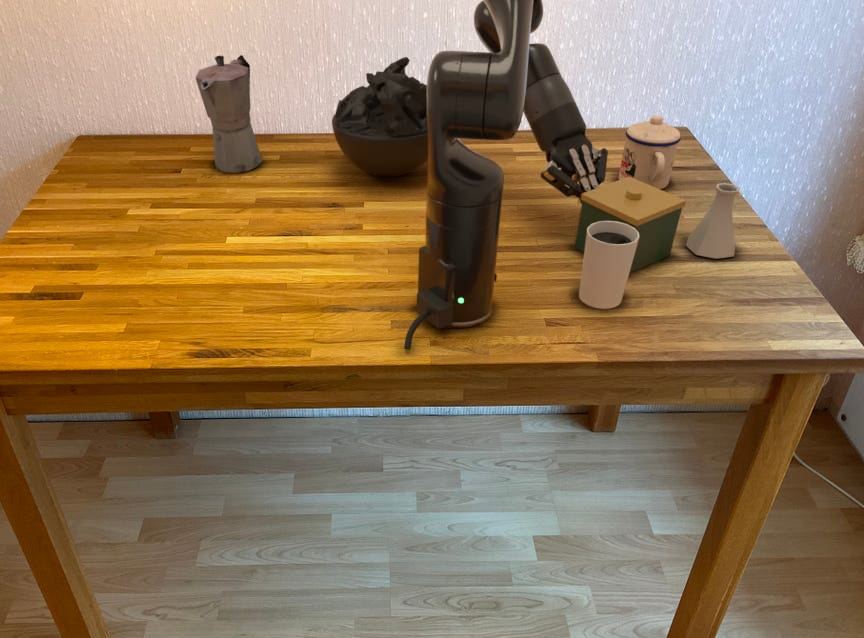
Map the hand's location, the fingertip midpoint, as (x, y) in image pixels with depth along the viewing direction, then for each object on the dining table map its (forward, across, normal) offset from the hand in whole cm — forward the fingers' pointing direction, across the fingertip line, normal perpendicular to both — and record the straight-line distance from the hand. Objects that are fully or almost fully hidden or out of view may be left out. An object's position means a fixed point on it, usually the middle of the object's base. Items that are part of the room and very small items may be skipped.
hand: (598, 215), depth 113 cm
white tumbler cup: (+12, -12, -6) cm, 18 cm away
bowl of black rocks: (-25, -12, +31) cm, 41 cm away
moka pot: (-39, -33, +46) cm, 68 cm away
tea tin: (+7, 0, -1) cm, 7 cm away
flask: (+12, +12, -6) cm, 18 cm away
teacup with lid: (-3, +22, +9) cm, 24 cm away
